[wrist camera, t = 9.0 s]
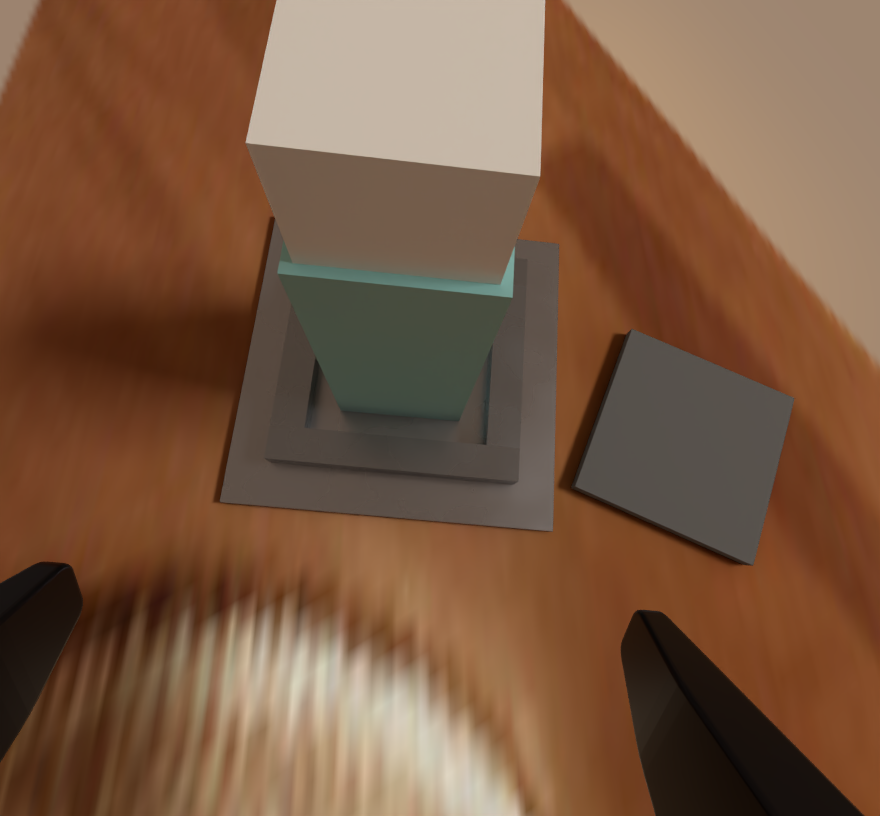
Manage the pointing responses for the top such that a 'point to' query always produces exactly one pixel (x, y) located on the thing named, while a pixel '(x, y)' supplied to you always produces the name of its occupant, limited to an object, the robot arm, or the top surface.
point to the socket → (403, 422)
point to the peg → (400, 185)
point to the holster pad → (686, 447)
